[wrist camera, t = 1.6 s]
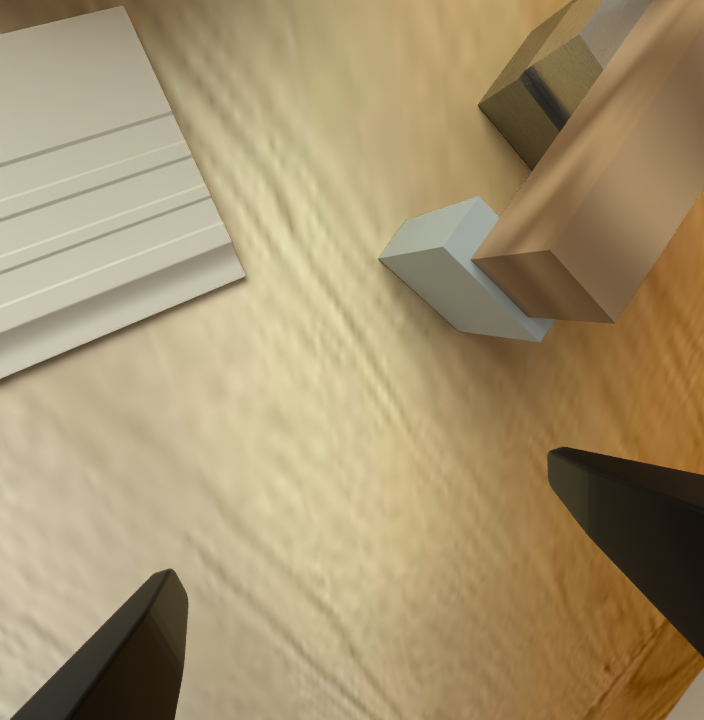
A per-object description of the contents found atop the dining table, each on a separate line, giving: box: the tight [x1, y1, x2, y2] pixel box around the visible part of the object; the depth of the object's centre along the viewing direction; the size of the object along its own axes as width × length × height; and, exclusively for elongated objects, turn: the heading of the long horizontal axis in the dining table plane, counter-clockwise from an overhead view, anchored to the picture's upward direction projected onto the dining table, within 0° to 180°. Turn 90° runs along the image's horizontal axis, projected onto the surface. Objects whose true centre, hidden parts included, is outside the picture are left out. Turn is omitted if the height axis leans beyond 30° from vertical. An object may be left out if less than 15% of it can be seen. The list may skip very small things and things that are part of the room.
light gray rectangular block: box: [378, 196, 556, 342], centre depth 20 cm, size 2×6×6 cm, turn 52°
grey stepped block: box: [478, 0, 653, 170], centre depth 21 cm, size 5×7×6 cm
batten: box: [470, 0, 704, 323], centre depth 16 cm, size 15×4×4 cm, turn 142°
